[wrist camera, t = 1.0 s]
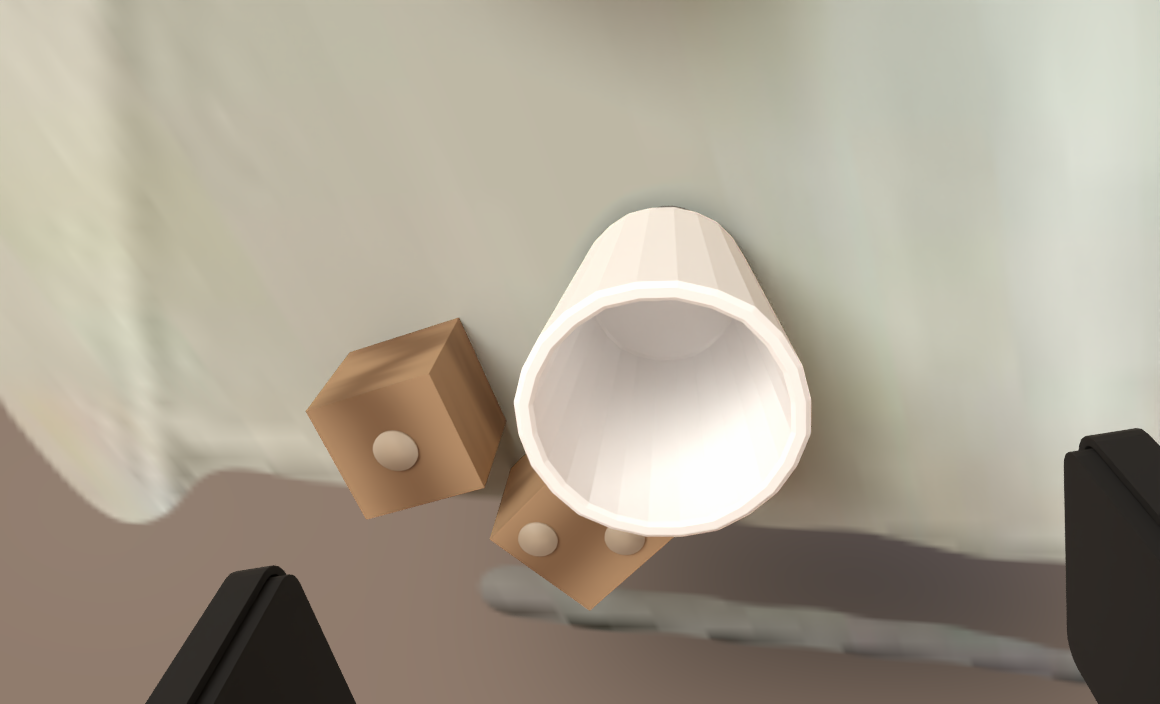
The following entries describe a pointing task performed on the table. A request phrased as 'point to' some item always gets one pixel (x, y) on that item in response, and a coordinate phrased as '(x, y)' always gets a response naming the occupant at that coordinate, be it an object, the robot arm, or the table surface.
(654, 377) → the cup
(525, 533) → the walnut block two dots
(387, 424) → the walnut block one dot
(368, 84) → the table surface
